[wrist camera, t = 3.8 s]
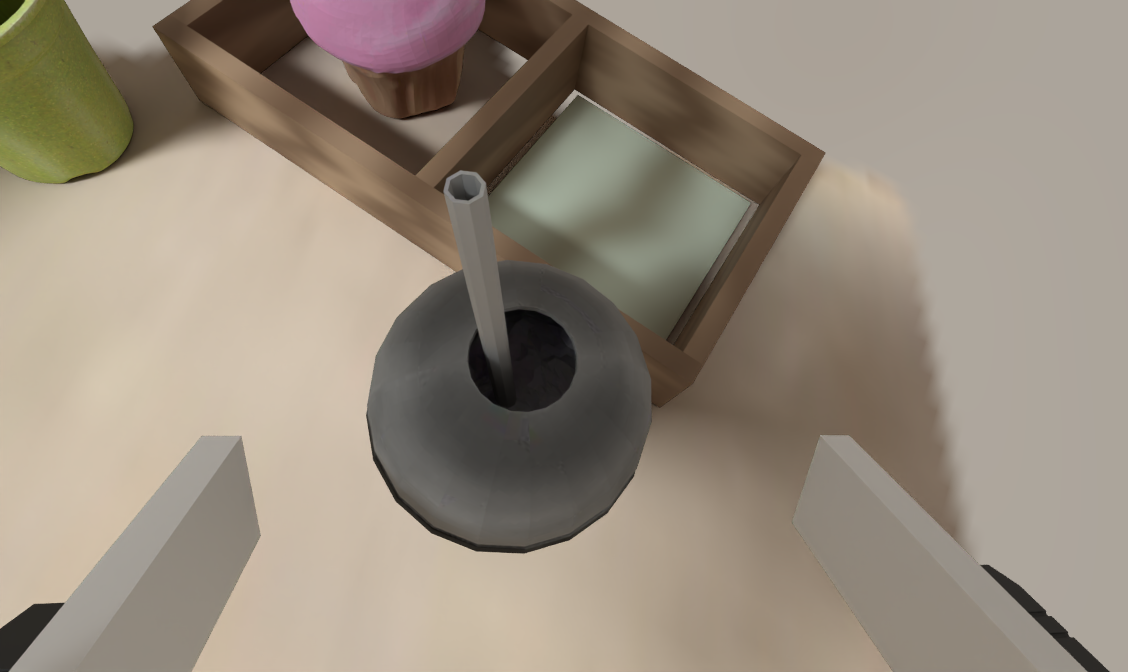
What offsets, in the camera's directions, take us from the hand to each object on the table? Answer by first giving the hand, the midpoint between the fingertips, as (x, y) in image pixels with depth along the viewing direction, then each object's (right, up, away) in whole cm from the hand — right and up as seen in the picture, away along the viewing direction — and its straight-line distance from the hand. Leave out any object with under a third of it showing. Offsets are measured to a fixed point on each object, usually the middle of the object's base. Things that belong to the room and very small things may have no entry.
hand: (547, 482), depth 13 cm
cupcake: (-9, +17, +19) cm, 27 cm away
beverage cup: (-3, -2, +12) cm, 13 cm away
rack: (-3, +14, +18) cm, 23 cm away
